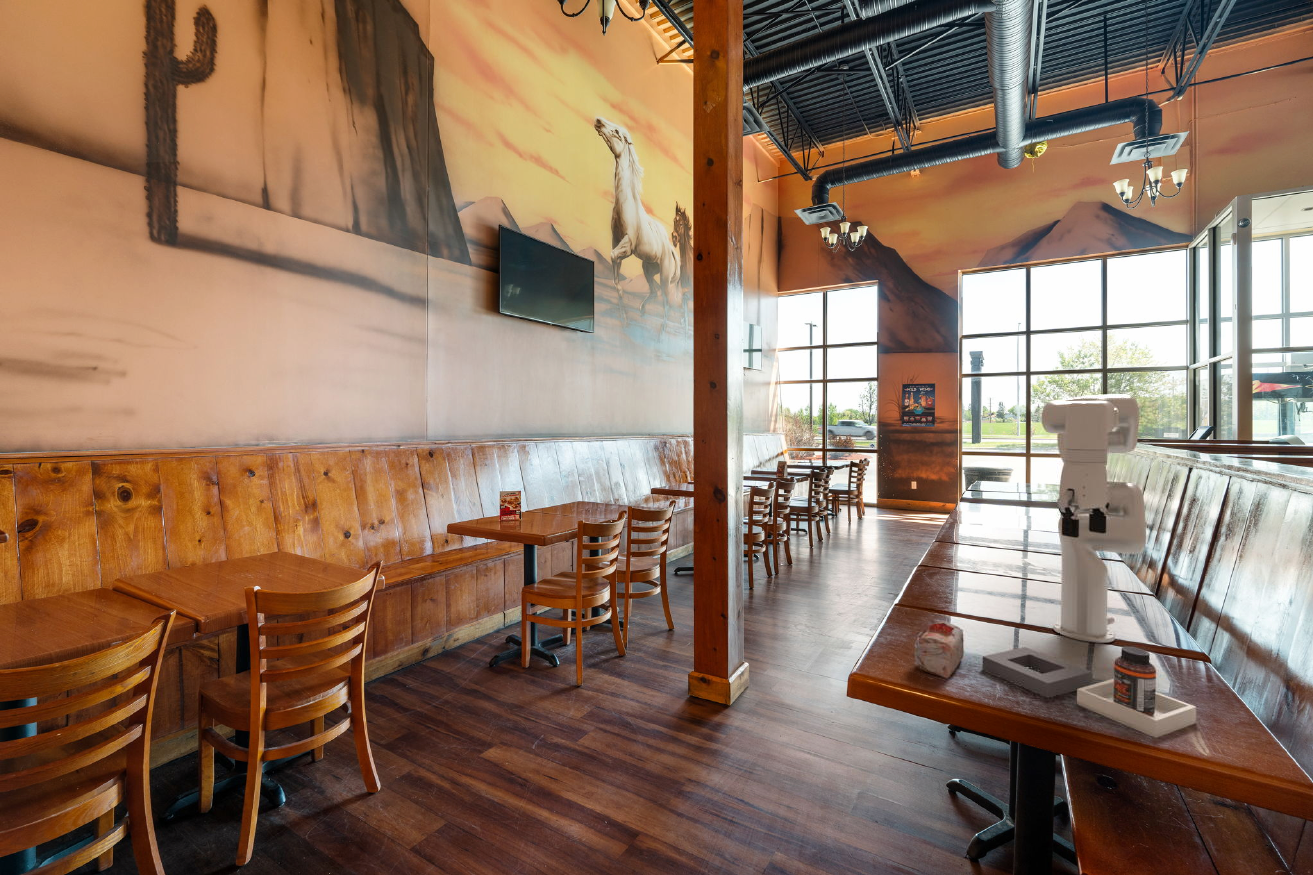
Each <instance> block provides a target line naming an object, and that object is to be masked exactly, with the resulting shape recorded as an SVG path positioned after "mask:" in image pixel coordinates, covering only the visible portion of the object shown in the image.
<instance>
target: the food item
mask: <svg viewBox="0 0 1313 875" xmlns="http://www.w3.org/2000/svg"><path fill="white" fill-rule="evenodd" d="M927 625H928V630H927V631H926V632H924V633H923V630H921V631H920V632H919V633H918V635H917V637H916V640H915V643H914V645H913V646H914V664H915V666H916V668H919V670H922V671H924V672H926V673H929V674H931V675H934V676H938V677H940V678H944V679H949V678H950V677H951V675H952V674H953V673H954V671H955V670H956V668H957V667H958V666H959V664H960V663H961V661H962V659H963V658H964V653H965V651H964V649H965V647H964V641H965V640H964V630H963V628H961V627H959V626H958V625H955V624H953V623H949V622H943V621H939V622H935V623H932V622H931V621H930V620H928V622H927ZM922 634H923V635H922Z"/></svg>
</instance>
